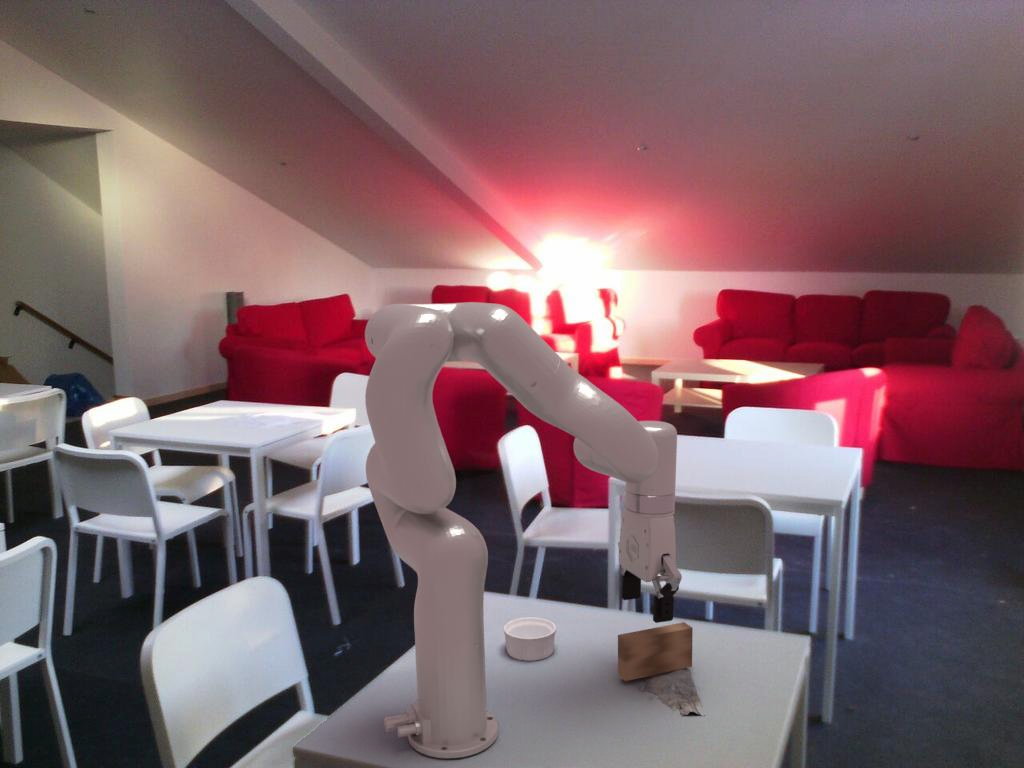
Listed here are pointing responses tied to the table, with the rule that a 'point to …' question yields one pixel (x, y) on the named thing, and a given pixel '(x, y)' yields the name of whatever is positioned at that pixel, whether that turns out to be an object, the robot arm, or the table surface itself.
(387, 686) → the table surface
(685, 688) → the stone slab
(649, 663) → the brown wooden block
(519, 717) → the table surface
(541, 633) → the ramekin
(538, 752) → the table surface
